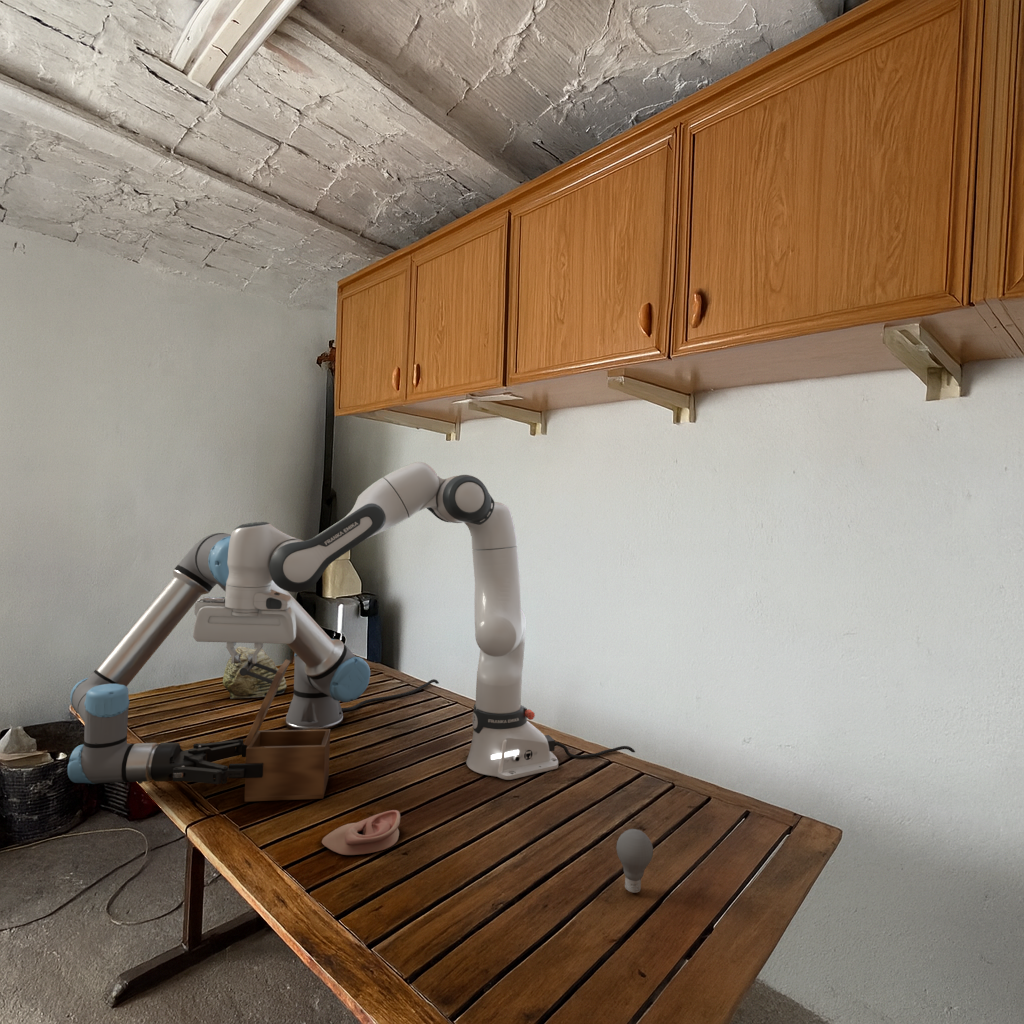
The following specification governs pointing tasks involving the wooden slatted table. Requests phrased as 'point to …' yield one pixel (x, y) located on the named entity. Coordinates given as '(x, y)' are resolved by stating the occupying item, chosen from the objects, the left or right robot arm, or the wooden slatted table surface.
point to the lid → (270, 694)
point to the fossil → (248, 684)
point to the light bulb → (634, 857)
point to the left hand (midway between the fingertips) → (268, 759)
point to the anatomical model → (365, 835)
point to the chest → (289, 765)
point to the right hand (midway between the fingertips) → (244, 663)
